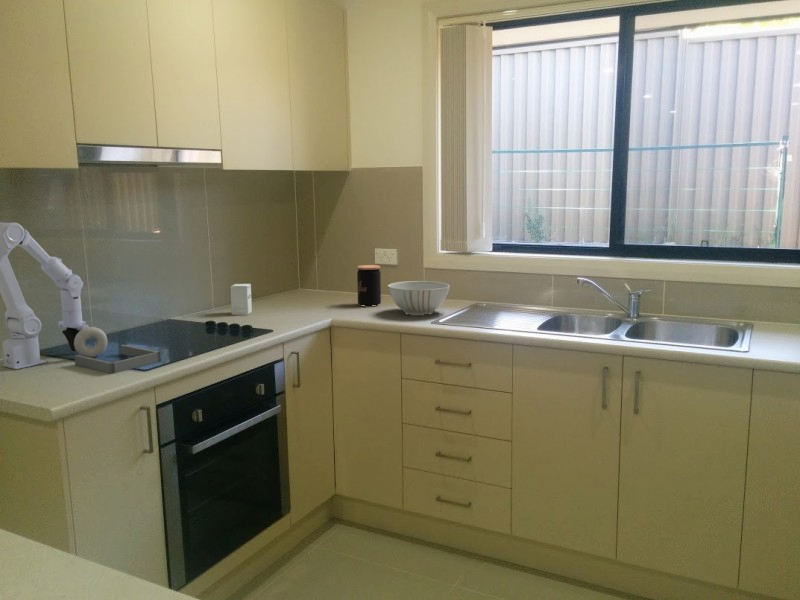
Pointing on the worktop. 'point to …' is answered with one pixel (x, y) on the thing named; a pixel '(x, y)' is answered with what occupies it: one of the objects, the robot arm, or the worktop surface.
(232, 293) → the supplement box
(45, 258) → the robot arm
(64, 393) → the worktop surface
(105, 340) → the donut
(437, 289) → the decorative bowl
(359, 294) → the coffee jar
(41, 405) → the worktop surface
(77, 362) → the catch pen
